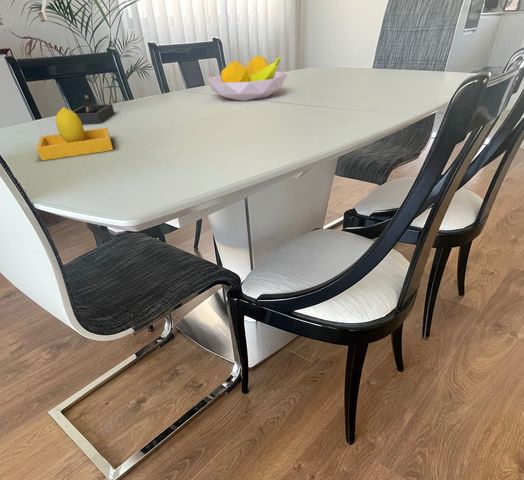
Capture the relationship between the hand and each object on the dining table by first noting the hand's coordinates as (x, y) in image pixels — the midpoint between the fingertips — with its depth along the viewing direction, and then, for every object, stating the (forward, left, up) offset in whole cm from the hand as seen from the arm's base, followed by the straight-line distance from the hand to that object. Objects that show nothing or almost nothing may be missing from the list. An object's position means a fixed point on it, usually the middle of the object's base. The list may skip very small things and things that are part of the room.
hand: (22, 23), depth 88 cm
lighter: (+8, +19, -23) cm, 30 cm away
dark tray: (+8, +19, -23) cm, 31 cm away
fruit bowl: (+60, +22, -23) cm, 68 cm away
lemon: (+4, -17, -23) cm, 29 cm away
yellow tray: (+4, -17, -23) cm, 29 cm away
